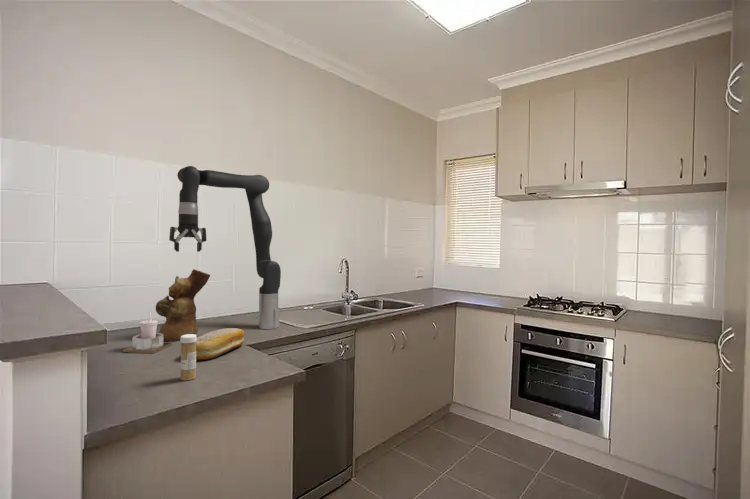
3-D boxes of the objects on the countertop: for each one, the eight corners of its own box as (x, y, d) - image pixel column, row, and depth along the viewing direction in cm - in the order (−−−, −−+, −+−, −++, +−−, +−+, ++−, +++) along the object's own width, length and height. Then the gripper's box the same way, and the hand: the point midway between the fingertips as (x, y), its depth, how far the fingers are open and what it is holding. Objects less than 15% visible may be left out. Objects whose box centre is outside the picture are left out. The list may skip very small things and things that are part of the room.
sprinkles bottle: (177, 378, 120) (177, 335, 120) (192, 374, 124) (192, 332, 123) (184, 382, 117) (184, 337, 117) (199, 378, 121) (199, 335, 120)
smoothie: (157, 347, 151) (157, 311, 151) (138, 349, 148) (138, 312, 148) (158, 343, 157) (158, 308, 157) (140, 344, 154) (140, 309, 154)
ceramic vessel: (156, 335, 174) (156, 268, 174) (208, 330, 184) (209, 267, 184) (154, 343, 160) (154, 271, 160) (211, 338, 170) (211, 270, 170)
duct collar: (171, 345, 158) (171, 332, 158) (153, 353, 146) (153, 340, 146) (143, 344, 159) (143, 332, 159) (122, 352, 147) (122, 339, 147)
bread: (250, 344, 162) (250, 325, 162) (211, 363, 136) (211, 341, 136) (221, 342, 164) (221, 323, 164) (178, 361, 138) (178, 338, 138)
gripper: (172, 212, 158) (172, 251, 158) (208, 214, 168) (208, 251, 168) (167, 213, 164) (167, 251, 164) (202, 215, 173) (202, 251, 174)
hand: (188, 251), depth 166 cm, fingers open, 8 cm apart
